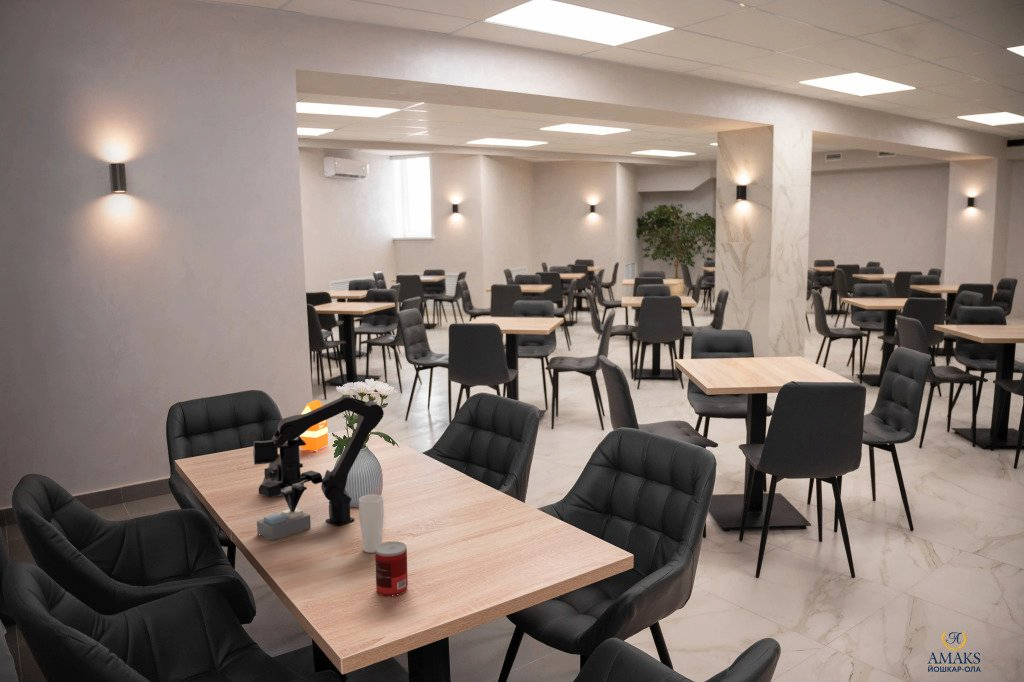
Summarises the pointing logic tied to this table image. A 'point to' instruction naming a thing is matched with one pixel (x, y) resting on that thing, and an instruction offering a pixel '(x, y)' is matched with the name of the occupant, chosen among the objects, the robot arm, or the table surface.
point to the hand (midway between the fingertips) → (292, 511)
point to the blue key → (274, 519)
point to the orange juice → (315, 430)
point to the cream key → (292, 513)
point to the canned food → (391, 568)
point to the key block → (283, 527)
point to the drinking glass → (371, 521)
